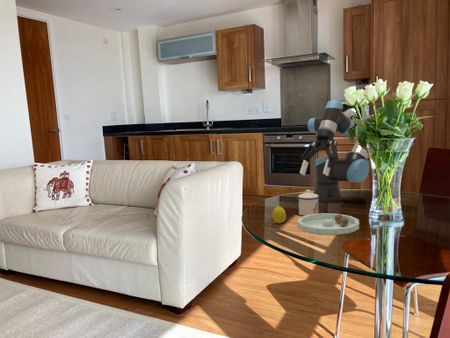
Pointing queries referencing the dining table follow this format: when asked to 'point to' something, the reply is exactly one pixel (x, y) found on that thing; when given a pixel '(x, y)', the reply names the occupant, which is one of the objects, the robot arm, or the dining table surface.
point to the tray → (326, 224)
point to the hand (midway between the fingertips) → (313, 174)
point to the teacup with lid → (308, 203)
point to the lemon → (279, 215)
